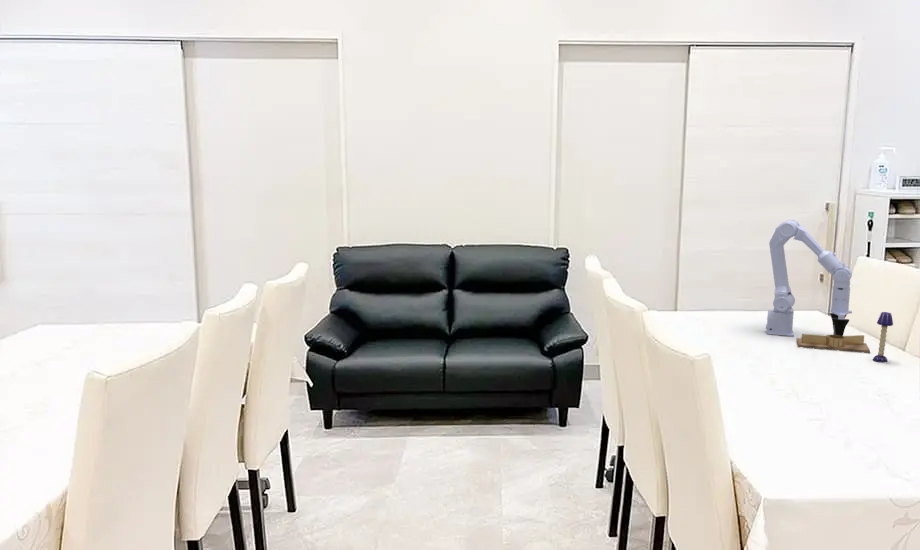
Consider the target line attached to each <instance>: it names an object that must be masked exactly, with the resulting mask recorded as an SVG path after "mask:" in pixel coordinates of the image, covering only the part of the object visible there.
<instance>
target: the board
mask: <svg viewBox="0 0 920 550" xmlns="http://www.w3.org/2000/svg"><path fill="white" fill-rule="evenodd" d="M796 340H797V341H796V344H797V345H798V346H797V345H796V346H797V348H800V347H803V348H802V349H813V348H814V350H815V349H816V350H817V349H818V350H825V349H826V350H827V351H837V350H839V351H838V352H850V353H851V352H852V353H861V352H864V354H870V353H871V350H870V348H869V346H868V345H867V343H865V342H864V344H860V345H845V347H839V348H838V347H830V346H827V345H821V344H809V343H801V340H802V337H796Z"/></svg>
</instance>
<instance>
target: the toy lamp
mask: <svg viewBox="0 0 920 550" xmlns="http://www.w3.org/2000/svg"><path fill="white" fill-rule="evenodd" d="M877 319H878V320H877V321H876V323H877V325H880V326H881V329H880V338H879V343H878V344H879V345H878V346H879V347H878V352H877V354H876V355H874V357H873V359H872V360H873V361H874V362H877V361H878V362H879V363H887V362H888V358H887V357H886V356H885V351H886V350H885V349H886V347H885V346H886V342H887V341H886V340H887V339H886V338H887V333H888V327H892V326H894V322H893V315H892V313H891V312H886V311H882V312H880V315H879V317H878V318H877Z"/></svg>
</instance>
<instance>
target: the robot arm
mask: <svg viewBox="0 0 920 550" xmlns="http://www.w3.org/2000/svg"><path fill="white" fill-rule="evenodd" d="M791 238H793V240H795V241H800V242H802V243H803V244H804V245H805V246H807V247H808V248H809V249H810V250H811V252H813V253H814V254H815V255H816V256H817V262H818V263H819V264H820V266H822V267H823V268H824V270H826V271H827V272H828V273H829V274H830V275H832V280H833V285H832V294H831V295H832V296H831V309H830V313H829V316H830V317H831V320H832V322H831V323H832V329H833V331H834V326H835V335H840V336H844V333H845V330H846V327H847V325H848V324H849V322H850V319H848V318H847V319H846V317H847V316H848V315H849V314H853V311H852V310H849V307H850V294H851V287H850V286H851V278H852V276H853V274H852V273H853V272H852V270H851V269H850V266H847V264H846V263H845V262H842V261H841V259H839V258H838V256H837V253H835V252H832V251H831V250H825V249H824V248H823V246H821V245H820V243H819V242H818V241H817V240H816V239H815V238H814V237H813V236H812V234H811V233H810V232H809V231H808V230H807V229H806V228H805V227H804V226H803V225H801V224H800V223H799V221H797V220H794V219H788V220H786V221H783V222H782V223H780V224H779V225H778V226H777V227H776V228H775V231H774V233H773V234H772V236H771V238H770V240H769V243H768V244H769V251H770V252H769V253H770V257H771V258H770V259H771V265H772V273H773V274H772V275H773V281H774V300H773V303H772V304H773V309H772V310H770V309H769V310H767V319H766V321H767V322H766V324H765V329H766V334H767V335H774V336H776V335H777V336H788V337H794V331H793V328H794V327H793V325H794V314H795V313H794V312H795V311H794V309H793V306H794V305H795V304H796V303H795V301H796V299H795V297H794V295H793V293H792V290H791V287H790V284H789V276H788V270H787V263H786V254H785V244H786V243H788V241H789V240H791Z"/></svg>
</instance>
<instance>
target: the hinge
mask: <svg viewBox="0 0 920 550" xmlns="http://www.w3.org/2000/svg"><path fill="white" fill-rule="evenodd" d="M801 338H802V340H801V343H809V344H821V345H827V346H830V347H838V348H839V347H845V345H860V344H864V343H865V335H864V334H863V335H860V334H859V335H858V334H857V335H843V336H840V335H833V334H827V335H826V334H825V335H824V334H823V335H819V334H810V333H802V334H801Z"/></svg>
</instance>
